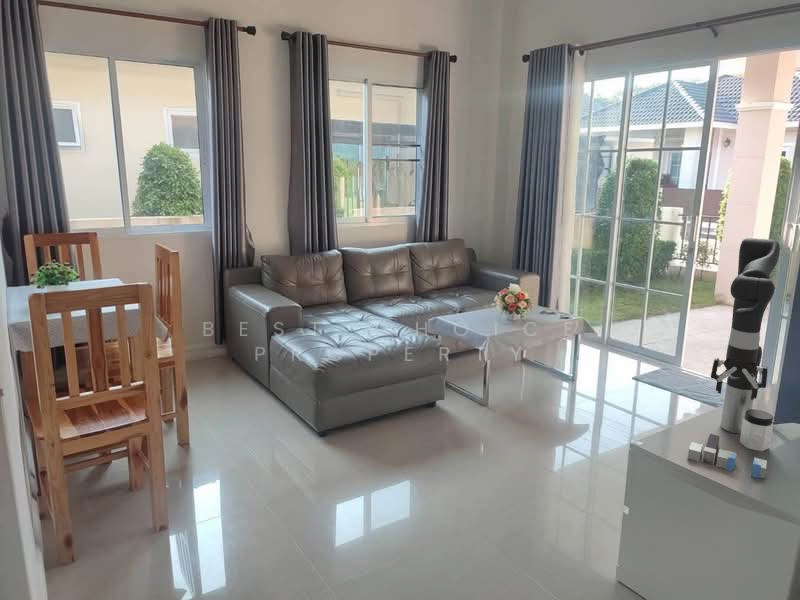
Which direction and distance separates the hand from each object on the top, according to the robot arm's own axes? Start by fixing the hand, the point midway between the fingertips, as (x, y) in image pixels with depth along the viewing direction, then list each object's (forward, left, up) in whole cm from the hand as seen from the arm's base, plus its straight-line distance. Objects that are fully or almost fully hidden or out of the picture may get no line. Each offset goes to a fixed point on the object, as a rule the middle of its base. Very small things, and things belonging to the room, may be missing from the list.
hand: (735, 395), depth 171 cm
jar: (-34, +7, -29) cm, 45 cm away
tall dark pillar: (-18, -5, -29) cm, 35 cm away
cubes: (-13, 0, -29) cm, 32 cm away
